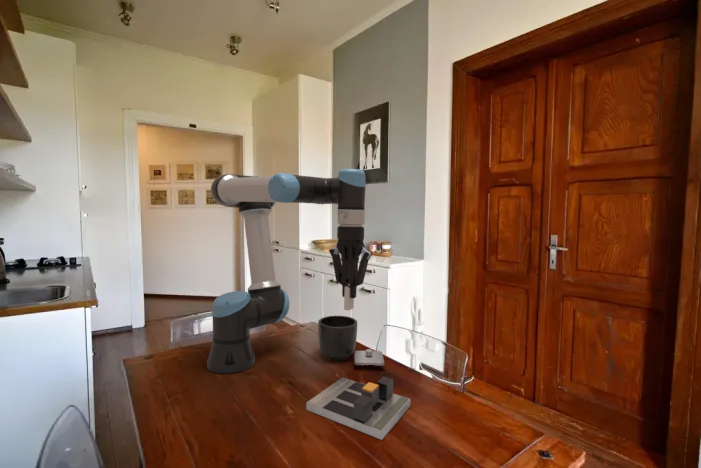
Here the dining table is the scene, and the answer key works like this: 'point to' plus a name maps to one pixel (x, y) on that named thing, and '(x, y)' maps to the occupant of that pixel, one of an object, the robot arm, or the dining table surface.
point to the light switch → (369, 358)
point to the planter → (337, 337)
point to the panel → (354, 423)
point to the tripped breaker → (371, 392)
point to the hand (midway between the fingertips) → (348, 308)
